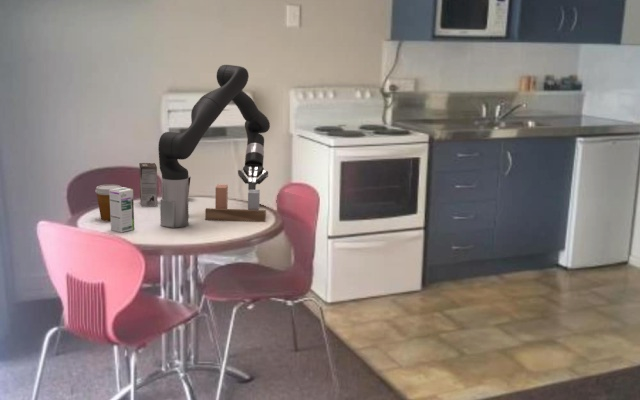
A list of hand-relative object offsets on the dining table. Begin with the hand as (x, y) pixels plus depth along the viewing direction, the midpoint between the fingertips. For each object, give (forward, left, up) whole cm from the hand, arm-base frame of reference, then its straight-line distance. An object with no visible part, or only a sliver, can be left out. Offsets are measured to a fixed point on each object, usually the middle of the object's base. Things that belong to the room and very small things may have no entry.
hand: (251, 191), depth 270 cm
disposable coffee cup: (-46, +31, -7) cm, 56 cm away
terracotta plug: (-13, +6, -7) cm, 15 cm away
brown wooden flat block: (-15, -4, -7) cm, 17 cm away
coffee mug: (-8, +31, -7) cm, 33 cm away
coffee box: (-20, +36, -7) cm, 42 cm away
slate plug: (-13, -9, -7) cm, 17 cm away
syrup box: (-54, +17, -7) cm, 57 cm away
